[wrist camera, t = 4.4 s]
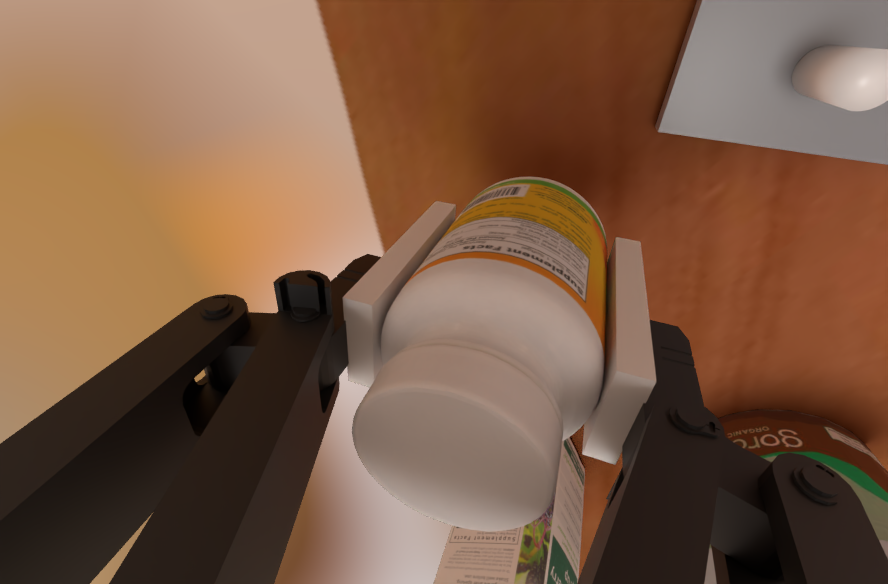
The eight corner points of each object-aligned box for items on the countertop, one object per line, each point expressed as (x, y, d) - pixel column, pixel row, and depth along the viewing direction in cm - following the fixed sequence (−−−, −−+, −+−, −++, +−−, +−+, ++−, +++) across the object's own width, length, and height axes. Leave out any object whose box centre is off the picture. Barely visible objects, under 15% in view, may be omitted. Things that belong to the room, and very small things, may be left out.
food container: (829, 355, 21) (968, 559, 13) (899, 434, 22) (1070, 671, 14) (615, 440, 28) (619, 608, 20) (675, 498, 29) (703, 680, 21)
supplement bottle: (557, 329, 17) (511, 586, 9) (439, 267, 17) (299, 467, 10) (641, 218, 14) (674, 471, 6) (494, 144, 14) (350, 297, 6)
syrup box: (588, 470, 30) (576, 752, 18) (511, 475, 33) (459, 722, 21) (558, 411, 28) (524, 682, 17) (480, 422, 31) (403, 660, 19)
